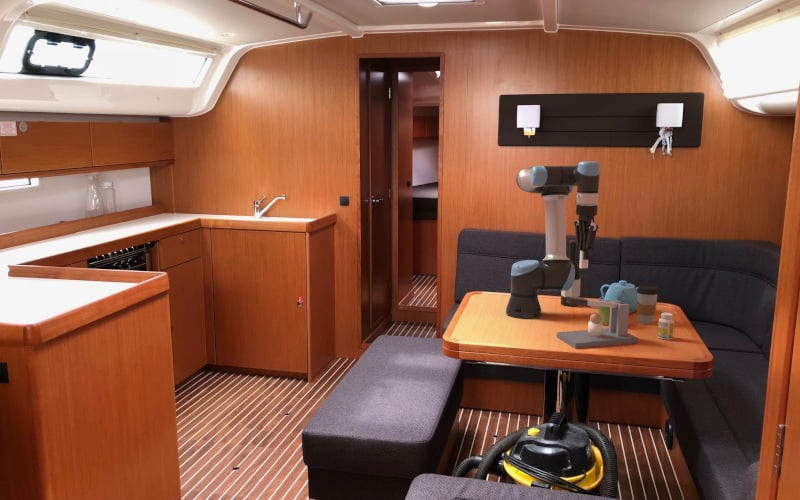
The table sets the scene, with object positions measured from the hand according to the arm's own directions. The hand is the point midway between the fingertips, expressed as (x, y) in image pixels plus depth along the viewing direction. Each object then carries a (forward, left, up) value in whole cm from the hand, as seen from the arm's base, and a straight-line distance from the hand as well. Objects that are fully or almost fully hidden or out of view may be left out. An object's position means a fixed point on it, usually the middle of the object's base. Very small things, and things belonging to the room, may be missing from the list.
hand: (583, 267), depth 237 cm
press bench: (0, +7, -28) cm, 29 cm away
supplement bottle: (+4, +34, -29) cm, 45 cm away
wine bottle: (-51, +24, -29) cm, 63 cm away
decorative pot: (-36, +41, -29) cm, 61 cm away
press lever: (0, +5, -15) cm, 16 cm away
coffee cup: (-17, +40, -29) cm, 52 cm away
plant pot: (-19, +23, -29) cm, 41 cm away
